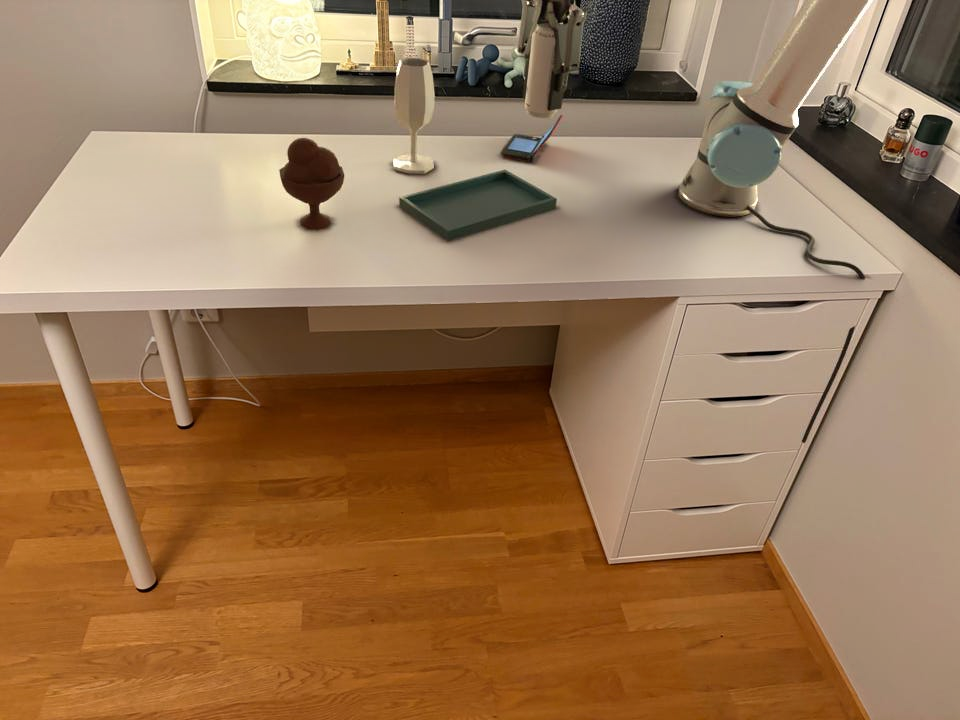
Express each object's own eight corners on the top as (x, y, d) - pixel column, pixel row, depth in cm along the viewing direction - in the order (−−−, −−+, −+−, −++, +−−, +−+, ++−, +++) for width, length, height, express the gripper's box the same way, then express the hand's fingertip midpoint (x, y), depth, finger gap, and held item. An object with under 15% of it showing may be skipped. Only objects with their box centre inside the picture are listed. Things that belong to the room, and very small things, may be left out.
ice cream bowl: (287, 239, 129) (278, 155, 120) (282, 210, 138) (274, 129, 129) (349, 235, 132) (346, 152, 123) (341, 206, 140) (337, 127, 131)
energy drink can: (534, 105, 141) (544, 19, 132) (563, 113, 138) (575, 26, 129) (517, 113, 137) (526, 24, 127) (546, 121, 134) (557, 32, 125)
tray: (555, 208, 146) (557, 198, 145) (448, 241, 132) (448, 231, 131) (504, 178, 155) (505, 169, 154) (399, 206, 142) (399, 196, 141)
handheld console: (513, 138, 173) (516, 105, 169) (559, 146, 171) (564, 113, 167) (498, 157, 164) (501, 123, 159) (547, 166, 162) (551, 132, 157)
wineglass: (428, 177, 153) (431, 71, 140) (387, 171, 154) (386, 65, 141) (439, 161, 160) (442, 58, 147) (399, 155, 161) (399, 53, 148)
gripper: (503, -50, 126) (492, 90, 140) (583, -27, 115) (562, 123, 129) (537, -52, 130) (523, 84, 144) (617, -30, 119) (593, 116, 132)
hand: (541, 102), depth 136 cm, fingers closed on energy drink can, 6 cm apart
